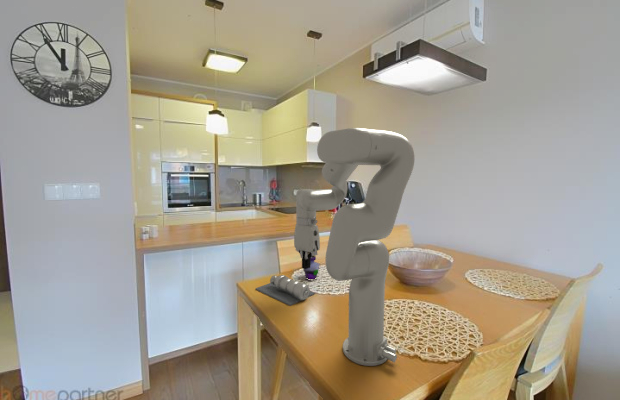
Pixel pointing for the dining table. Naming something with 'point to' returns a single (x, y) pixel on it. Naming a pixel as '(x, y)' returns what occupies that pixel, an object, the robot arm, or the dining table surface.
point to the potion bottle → (312, 269)
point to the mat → (279, 294)
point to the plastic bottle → (291, 286)
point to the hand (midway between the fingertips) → (306, 267)
